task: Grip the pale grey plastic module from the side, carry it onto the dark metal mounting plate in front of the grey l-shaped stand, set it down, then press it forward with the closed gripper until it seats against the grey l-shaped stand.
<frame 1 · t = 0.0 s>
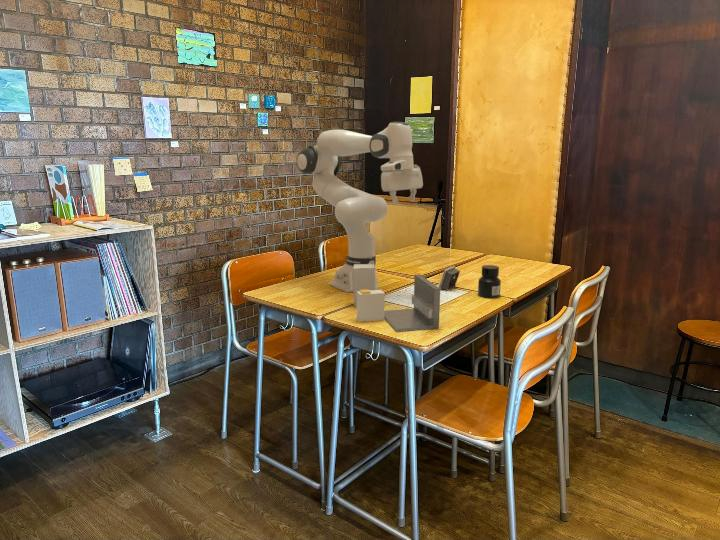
hand: (403, 202, 210), 39 cm above the table, tool pointing down, fingers open, 8 cm apart
electrical switch: (448, 288, 236), on the table
grey l-shaped stand: (417, 319, 195), on the table
ink bottle: (488, 295, 225), on the table
skincare box: (364, 305, 212), on the table
module: (370, 319, 196), on the table
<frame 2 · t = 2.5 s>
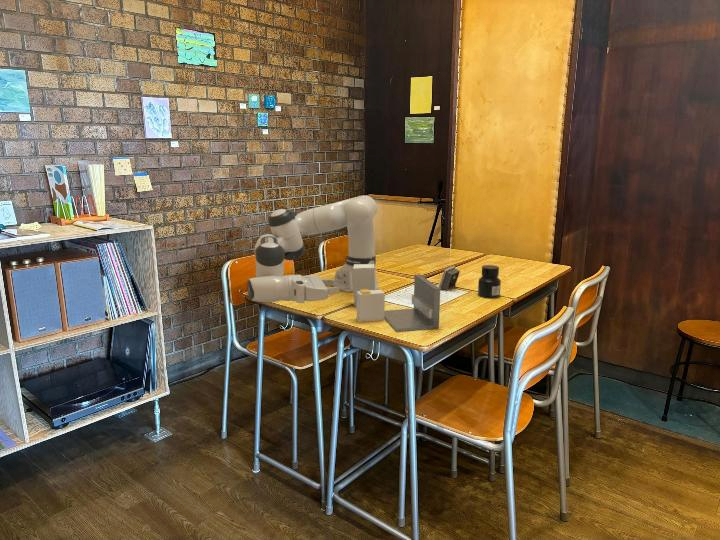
hand: (336, 285, 190), 13 cm above the table, tool horizontal, fingers open, 8 cm apart
nothing on the table moved.
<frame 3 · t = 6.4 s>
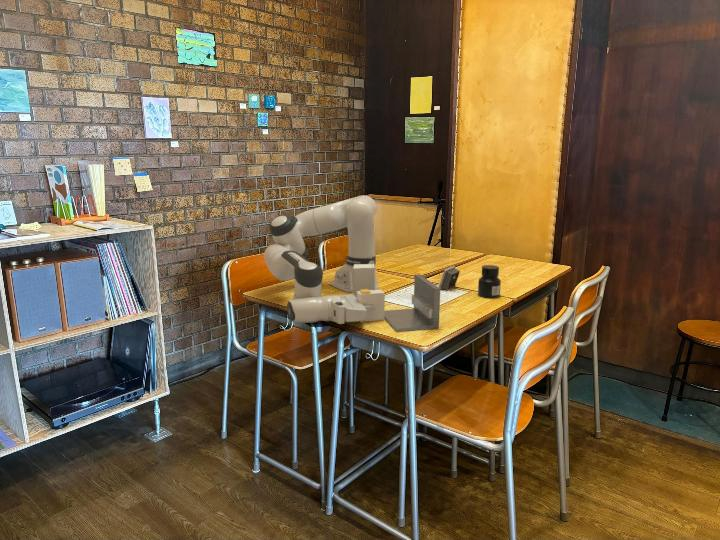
hand: (372, 305, 195), 5 cm above the table, tool horizontal, fingers closed on module, 4 cm apart
module: (370, 318, 196), on the table, touching gripper
everything else where it was.
when the fingers open (7 cm above the table, at t = 11.0 s): module stays where it is, resting on grey l-shaped stand.
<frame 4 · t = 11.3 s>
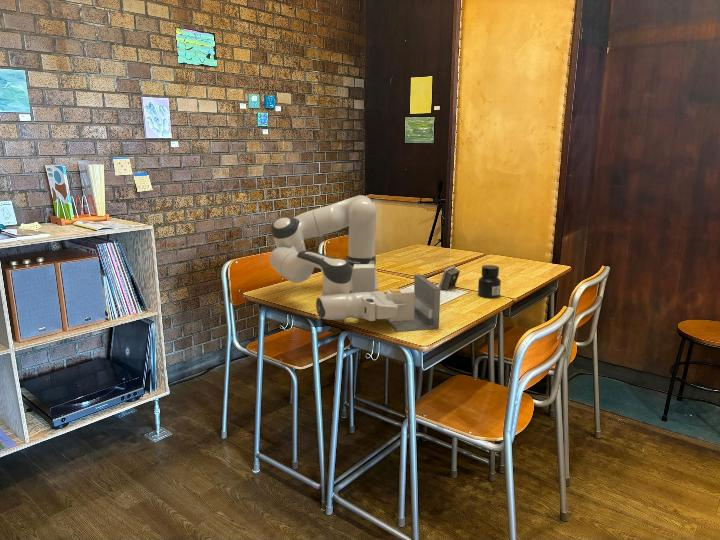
hand: (402, 302, 192), 7 cm above the table, tool horizontal, fingers open, 7 cm apart
module: (399, 318, 193), point 1 cm above the table, touching grey l-shaped stand
everything else where it was.
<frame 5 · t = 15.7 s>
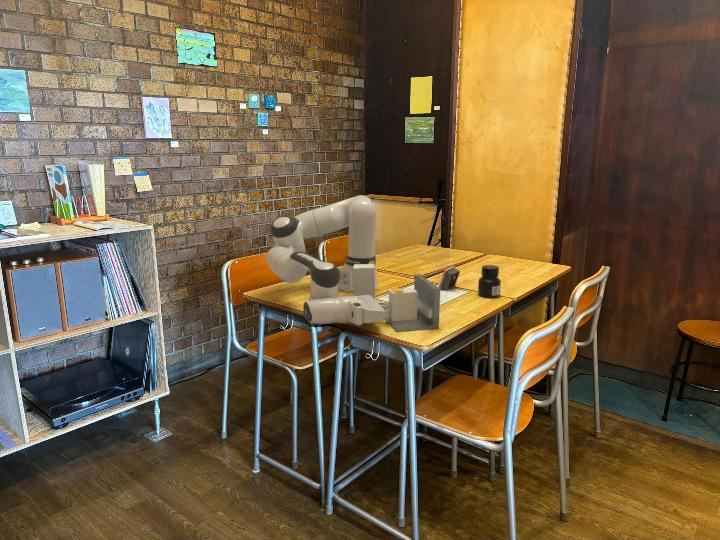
hand: (390, 306, 191), 6 cm above the table, tool horizontal, fingers closed
module: (402, 318, 193), point 1 cm above the table
everything else where it was.
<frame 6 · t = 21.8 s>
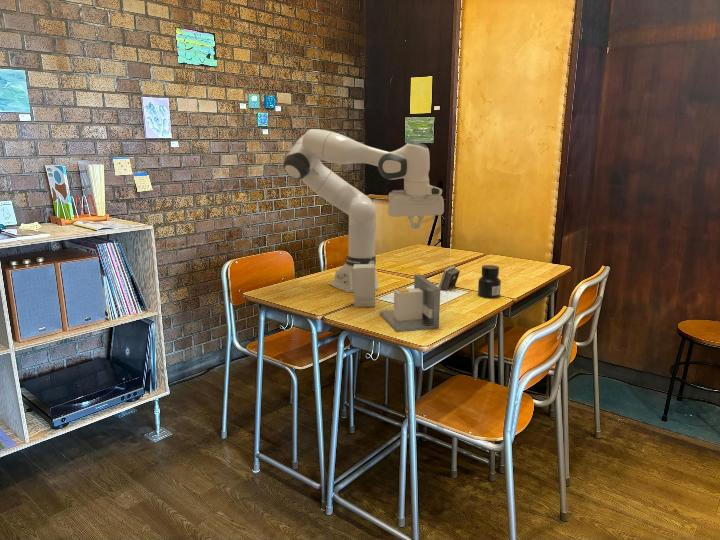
hand: (415, 228, 198), 31 cm above the table, tool pointing down, fingers closed
module: (407, 317, 194), point 1 cm above the table, touching grey l-shaped stand
everything else where it was.
at the end: module 0.1 cm from the target spot on the grey l-shaped stand, point 1.0 cm above the grey l-shaped stand's base; module tilted 0° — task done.
